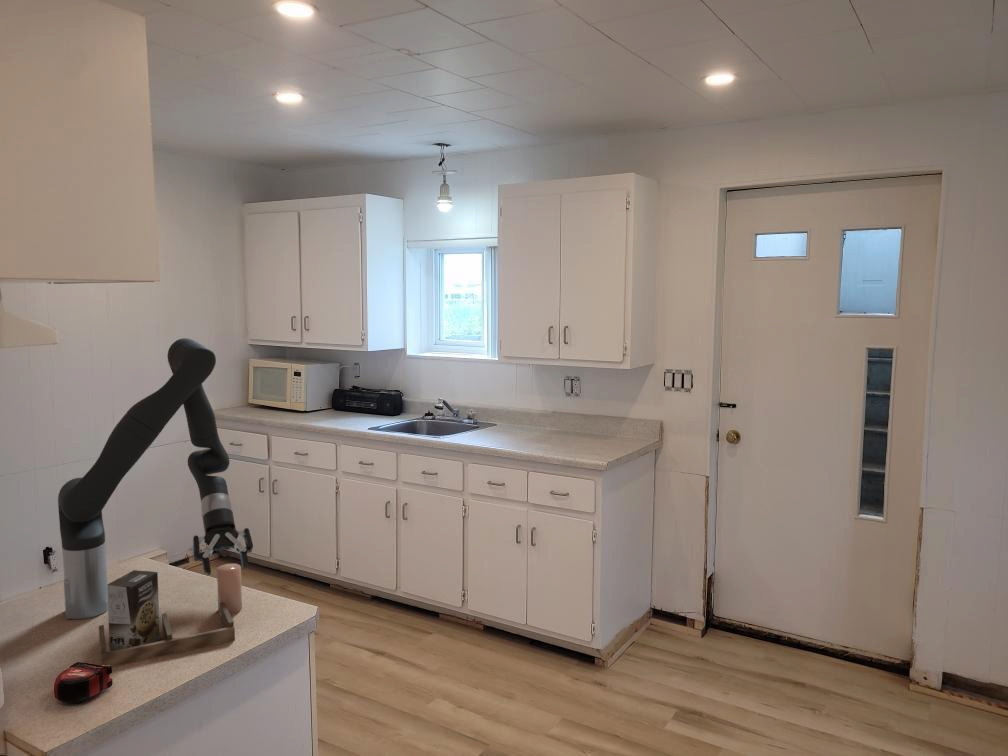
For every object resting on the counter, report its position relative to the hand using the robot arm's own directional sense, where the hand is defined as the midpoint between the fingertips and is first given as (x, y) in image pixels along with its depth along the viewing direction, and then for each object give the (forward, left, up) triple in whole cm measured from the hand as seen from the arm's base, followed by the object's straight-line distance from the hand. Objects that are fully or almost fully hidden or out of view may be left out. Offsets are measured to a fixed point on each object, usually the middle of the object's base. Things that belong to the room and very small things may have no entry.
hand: (227, 570), depth 189 cm
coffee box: (-22, -13, -9) cm, 27 cm away
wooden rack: (-16, -14, -9) cm, 23 cm away
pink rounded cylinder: (0, -4, -9) cm, 10 cm away
